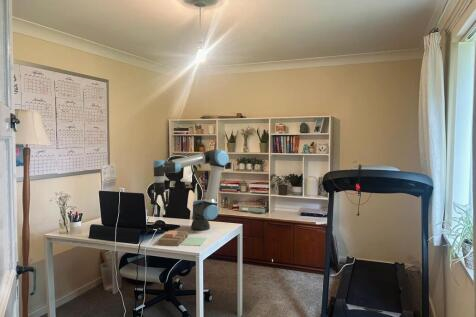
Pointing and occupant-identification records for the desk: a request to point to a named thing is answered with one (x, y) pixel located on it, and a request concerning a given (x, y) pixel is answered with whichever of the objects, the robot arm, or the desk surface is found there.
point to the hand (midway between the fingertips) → (159, 214)
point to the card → (170, 233)
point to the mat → (194, 241)
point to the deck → (174, 239)
